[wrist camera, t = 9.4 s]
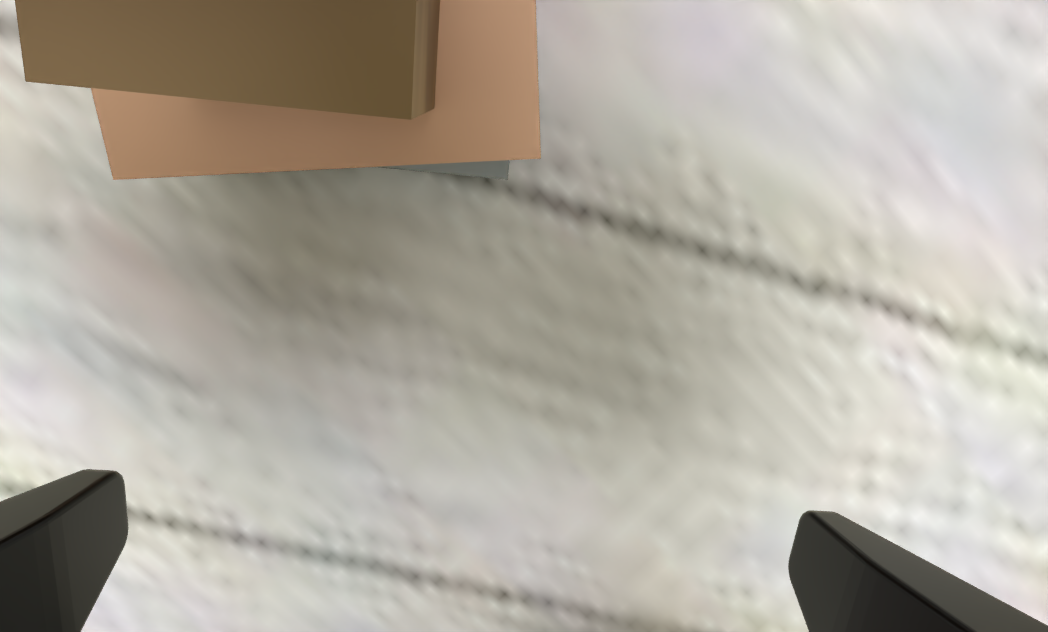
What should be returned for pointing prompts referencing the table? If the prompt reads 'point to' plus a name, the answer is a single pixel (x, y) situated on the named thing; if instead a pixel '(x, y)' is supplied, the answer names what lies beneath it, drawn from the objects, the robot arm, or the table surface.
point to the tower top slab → (350, 139)
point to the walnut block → (242, 50)
